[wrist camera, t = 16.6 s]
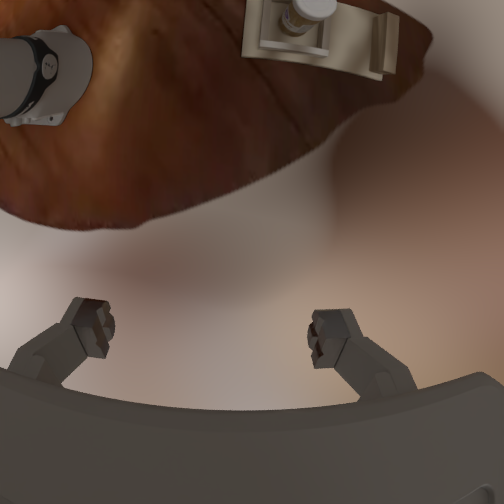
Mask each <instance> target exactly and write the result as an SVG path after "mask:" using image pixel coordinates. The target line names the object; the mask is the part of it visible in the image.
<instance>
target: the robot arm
mask: <svg viewBox="0 0 504 504" xmlns="http://www.w3.org/2000/svg"><path fill="white" fill-rule="evenodd" d="M91 73H92V55H91V51H90V49H89V47H88V45H87V44H86V42H85V41H84V40H82V39H81V38H79V37H77V36H75V35H73V34H72V33H71V31H70V29H69V28H68V27H67V26H66V25H60V26H58V27H56V28H54V29H52V30H38V31H36V33H34V34H32V35H31V36H16V37H13V38H0V119H4V121H5V122H6V123H9V124H10V126H11V127H13V126H19V125H21V124H37V125H53V126H56V125H60V124H62V122H63V121H64V119H65V117H66V115H67V113H68V111H69V109H70V108H71V107H72V106H73V105H74V104H75V103H76V102H77V101H78V100H79V99H80V97H81V96H82V95H83V93H84V92H85V90H86V88H87V86H88V83H89V81H90V77H91ZM52 117H53V120H52ZM110 309H111V307H110V305H109V302H108V301H104V300H96V299H89V298H80V297H75V298H74V299H73V301H72V302H71V304H70V305H69V307H68V309H67V311H66V312H65V314H64V316H63V318H62V320H61V321H60V323H56V324H54V325H53V326H51V327H50V328H48V329H47V330H45V331H43V332H42V333H40V334H39V335H38V336H36V337H35V338H33V339H31V340H30V341H29V342H27V343H26V344H24V345H23V346H21V347H20V348H18V350H17V351H16V353H15V355H14V357H13V359H12V361H11V363H10V365H9V367H8V369H4V368H1V367H0V504H504V386H503V385H501V384H500V383H499V382H498V381H496V380H495V379H493V378H492V377H491V376H489V375H487V374H485V373H484V372H476V373H472V374H470V375H466V376H464V377H460V378H458V379H454V380H451V381H448V382H444V383H441V384H438V385H434V386H431V387H427V388H423V389H419V390H418V389H417V386H416V384H415V382H414V380H413V378H412V375H411V373H410V371H409V369H408V367H407V366H405V365H404V364H403V363H401V362H400V361H399V360H397V359H396V358H395V357H393V356H392V355H391V354H389V353H388V352H387V351H385V350H384V349H383V348H381V347H380V346H379V345H377V344H376V343H374V342H373V341H372V340H370V339H369V338H368V337H363V334H362V332H361V330H360V327H359V325H358V323H357V321H356V319H355V316H354V314H353V312H352V310H351V309H326V310H314V312H313V314H312V320H313V322H312V323H311V324H310V325H309V328H308V335H307V338H308V345H309V348H311V349H312V350H313V352H312V355H311V357H312V361H313V365H314V368H315V369H319V368H334V369H335V370H336V371H337V372H338V373H339V374H340V376H342V378H343V379H344V380H345V381H346V382H347V383H348V384H349V385H350V386H351V387H352V388H353V389H354V390H355V391H356V392H357V393H358V394H359V395H360V396H361V397H360V398H359V400H358V401H357V402H353V403H346V404H339V405H331V406H322V407H312V408H300V409H285V410H258V411H257V410H256V411H231V410H228V411H227V410H203V409H188V408H176V407H165V406H157V405H149V404H142V403H134V402H128V401H122V400H117V399H111V398H105V397H100V396H96V395H91V394H87V393H83V392H78V391H74V390H70V389H66V388H64V387H63V386H62V384H61V383H62V382H63V381H64V379H66V378H67V377H68V376H69V375H70V374H71V373H72V372H73V371H74V370H75V369H76V368H77V367H78V366H79V365H80V364H81V363H82V362H83V361H84V360H85V359H86V358H87V356H88V357H95V358H102V359H105V358H106V355H107V353H108V350H109V344H108V341H110V340H111V339H112V338H113V336H114V332H115V321H114V317H113V316H112V315H111V314H110V313H109V311H110Z"/></svg>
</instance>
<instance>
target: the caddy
mask: <svg viewBox="0 0 504 504" xmlns="http://www.w3.org/2000/svg"><path fill="white" fill-rule="evenodd" d="M291 2H292V0H247V5H246V14H245V24H244V34H243V45H242V56H241V57H246V58H259V59H269V60H278V61H286V62H293V63H300V64H306V65H312V66H317V67H323V68H328V69H333V70H337V71H342V72H346V73H350V74H355V75H359V76H362V77H366V78H370V79H373V80H377V81H382V75H383V74H395V71H396V60H397V48H398V33H399V16H397V15H394V14H392V13H389V12H386V13H384V14H381V15H378V14H375V13H372V12H369V11H366V10H363V9H360V8H357V7H353V6H350V5H346V4H342V3H339V2H337V8H336V10H335V12H334V13H333V14H332V15H331V16H329V17H328V18H326V19H324V20H321V21H320V22H319V23H318V24H316V25H315V26H314V27H313V28H311V29H310V30H308V31H307V32H306V33H305V34H304V35H302V36H299V37H291V36H288V35H286V34H284V33H283V32H282V31H281V30H280V28H279V26H278V21H279V18H280V16H281V15H282V14H283V12H284V11H285V9H286V8H287V7H288V5H289V4H290V3H291Z"/></svg>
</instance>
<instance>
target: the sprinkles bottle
mask: <svg viewBox="0 0 504 504" xmlns="http://www.w3.org/2000/svg"><path fill="white" fill-rule="evenodd" d="M336 8H337V1H336V0H292V2H291V3H290V4H289V5H288V7H287V8H286V9H285V11H284V12H283V14H282V15H281V16H280V18H279V21H278V26H279V28H280V30H281V31H282V32H283V33H284V34H286V35H288V36H291V37H299V36H302V35H304V34H305V33H306V32H307V31H308V30H310V29H311V28H313V27H314V26H315V25H316V24H318V23H319V22H320V21H321V20H324V19H326V18H328V17H329V16H331V15H332V14H333V13H334V12H335V10H336Z"/></svg>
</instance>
